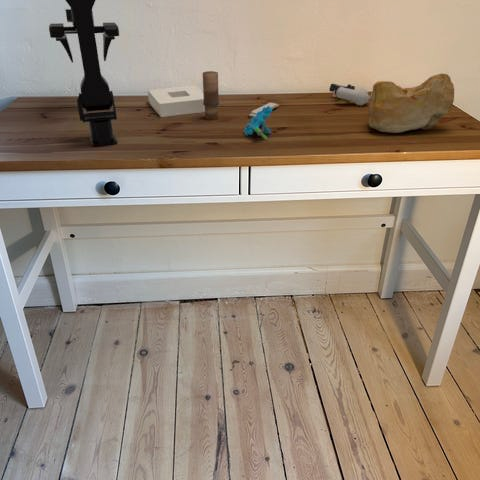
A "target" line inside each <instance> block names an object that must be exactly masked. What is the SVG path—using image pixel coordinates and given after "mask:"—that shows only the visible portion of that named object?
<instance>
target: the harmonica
mask: <svg viewBox="0 0 480 480" xmlns="http://www.w3.org/2000/svg"><path fill="white" fill-rule="evenodd" d="M268 106H269V107H270V108H271V109H272V112H273V111H275V110H278V109H280V108H281V105H280V104H278V103H274V102H268V103H265V104H264V105H262V106H260V107H258V108H255V109H253V110H252V111H251V112H250V114H248V115H247V119H250V120H251V119H252V118H253V117H256V115H257V113H258V112H259V111H262V109H263V108H264V107H266V108H267V107H268Z"/></svg>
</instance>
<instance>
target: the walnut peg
mask: <svg viewBox="0 0 480 480" xmlns="http://www.w3.org/2000/svg"><path fill="white" fill-rule="evenodd" d="M202 86H203V87H202V88H203V89H202V91H203V97H204V102H203V105H204V106H205V112H204V117H205V120H207V121H208V120H209V121H214V120H217V119H219V107H218V106H219V105H220V102H219V101H220V97H219V72H218V71H212V70H210V71H209V70H208V71H204V72H202Z"/></svg>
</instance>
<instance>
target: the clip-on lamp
mask: <svg viewBox="0 0 480 480" xmlns="http://www.w3.org/2000/svg"><path fill="white" fill-rule="evenodd" d="M329 92H332V93H333V98H336V97H337V98H338V99H342V100H347V101H350V102H353V103H354V104H355V105H356V106H364V105H365V104H366V103H368V101H369V99H371V97H372V93H370V95H369V94H368V91H367V90H366V89H365V88H359V89H356V86H354V85H352V84H347V85H341V84H338V83H337V84H336V83H331V84H330V86H329Z"/></svg>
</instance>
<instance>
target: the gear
mask: <svg viewBox="0 0 480 480" xmlns="http://www.w3.org/2000/svg"><path fill="white" fill-rule="evenodd" d="M272 112H273V111H272V109H271V108H270V107H269V106H268V107H267V108H266V107H264V108H263V109H262V111H259V112H258V113H257V115H256V117H253V118H252V119H250V121H251V122H248V123H247V124H246V125H245V127H246V128H244V129H243V133H244V135H245V136H247V137H248V135H249V136H251V135H252V134H253V133H254V132H256V135H258V136H260V137H262V138H263V140H265V141H267V140H268V137H267V135H265V134H264V132H265V133H267V134H268V135H270V134H271V133H272V131H271V130H270V129H269V128H268V127H267V126H266V125H265V123H266V121H265V119H269V117H270V116H271V113H272Z"/></svg>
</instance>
